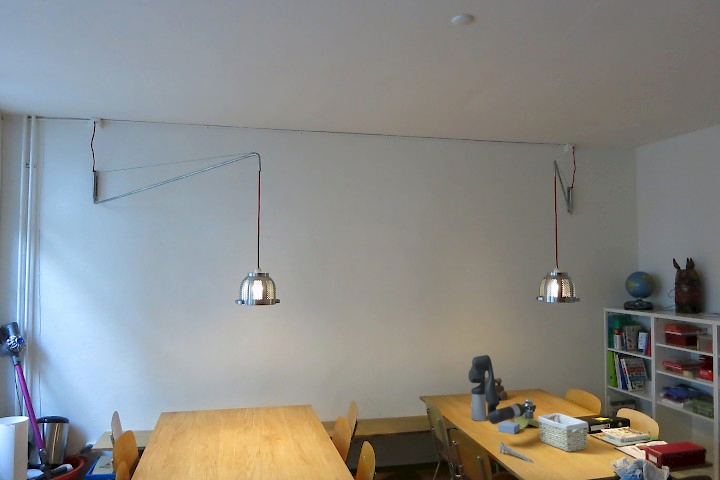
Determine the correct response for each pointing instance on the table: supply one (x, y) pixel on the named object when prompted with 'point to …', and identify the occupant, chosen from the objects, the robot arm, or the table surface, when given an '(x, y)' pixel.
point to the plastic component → (526, 421)
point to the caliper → (511, 452)
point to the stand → (509, 427)
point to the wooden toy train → (499, 389)
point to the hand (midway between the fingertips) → (531, 406)
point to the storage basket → (563, 431)
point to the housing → (527, 403)
